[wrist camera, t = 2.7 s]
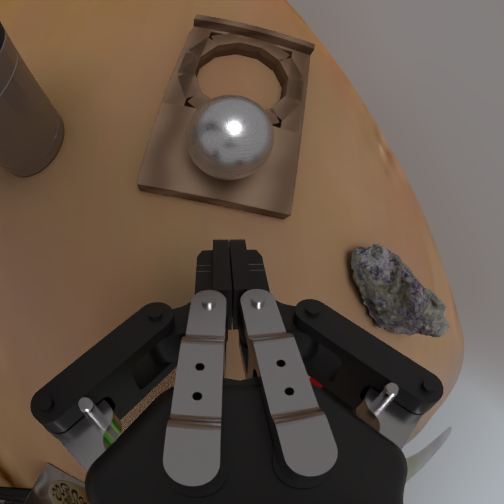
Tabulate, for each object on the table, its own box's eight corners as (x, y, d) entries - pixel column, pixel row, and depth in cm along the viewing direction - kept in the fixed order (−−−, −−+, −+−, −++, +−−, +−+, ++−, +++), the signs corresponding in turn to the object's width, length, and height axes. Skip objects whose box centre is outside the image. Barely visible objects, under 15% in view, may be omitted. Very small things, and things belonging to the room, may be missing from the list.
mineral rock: (340, 250, 35) (392, 242, 25) (403, 233, 37) (457, 222, 28) (359, 350, 35) (410, 370, 25) (418, 322, 37) (471, 330, 27)
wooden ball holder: (140, 190, 30) (134, 179, 26) (194, 33, 33) (196, 14, 29) (283, 219, 34) (295, 212, 30) (304, 60, 36) (314, 44, 32)
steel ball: (177, 181, 29) (175, 150, 21) (195, 113, 30) (200, 69, 22) (255, 197, 30) (279, 172, 23) (266, 129, 31) (291, 91, 23)
